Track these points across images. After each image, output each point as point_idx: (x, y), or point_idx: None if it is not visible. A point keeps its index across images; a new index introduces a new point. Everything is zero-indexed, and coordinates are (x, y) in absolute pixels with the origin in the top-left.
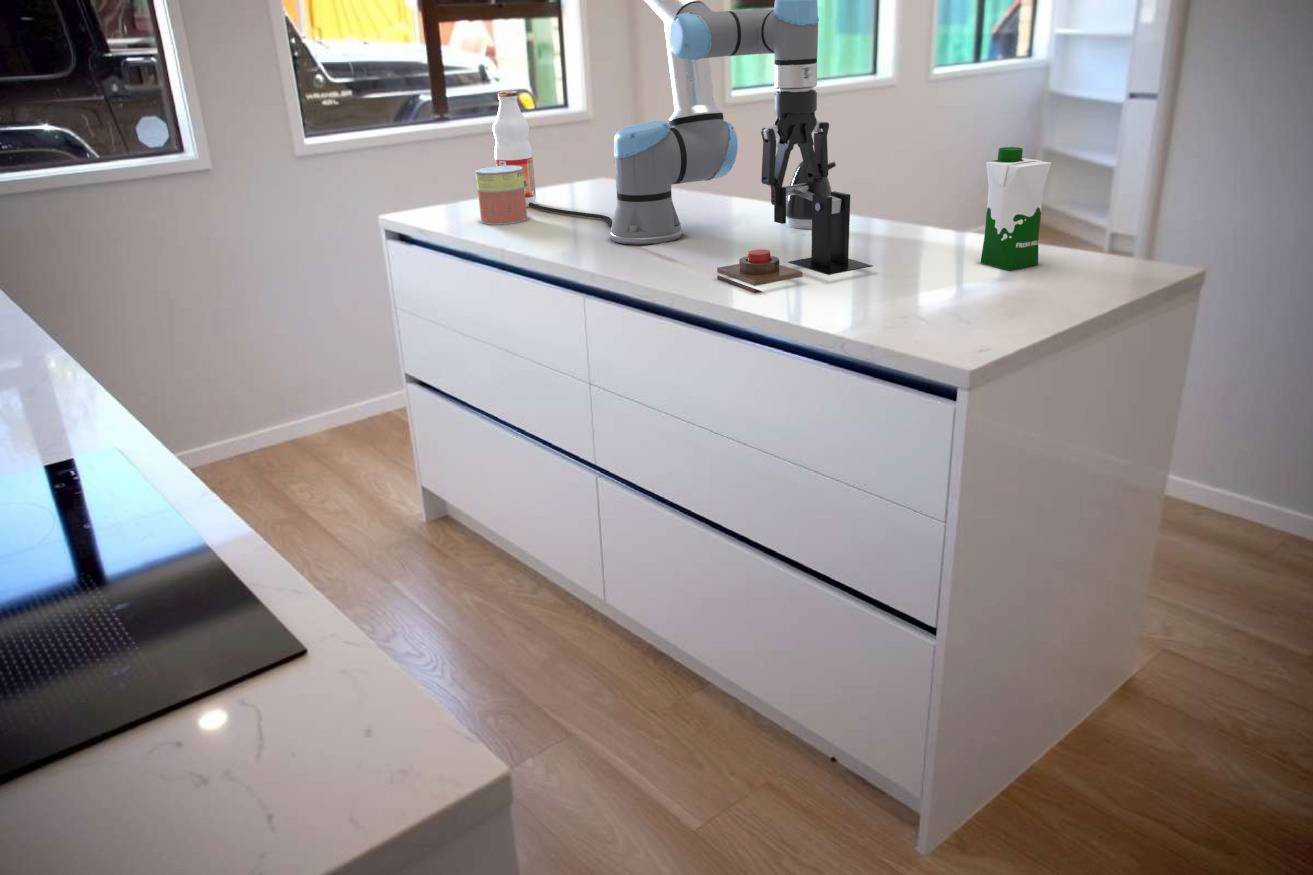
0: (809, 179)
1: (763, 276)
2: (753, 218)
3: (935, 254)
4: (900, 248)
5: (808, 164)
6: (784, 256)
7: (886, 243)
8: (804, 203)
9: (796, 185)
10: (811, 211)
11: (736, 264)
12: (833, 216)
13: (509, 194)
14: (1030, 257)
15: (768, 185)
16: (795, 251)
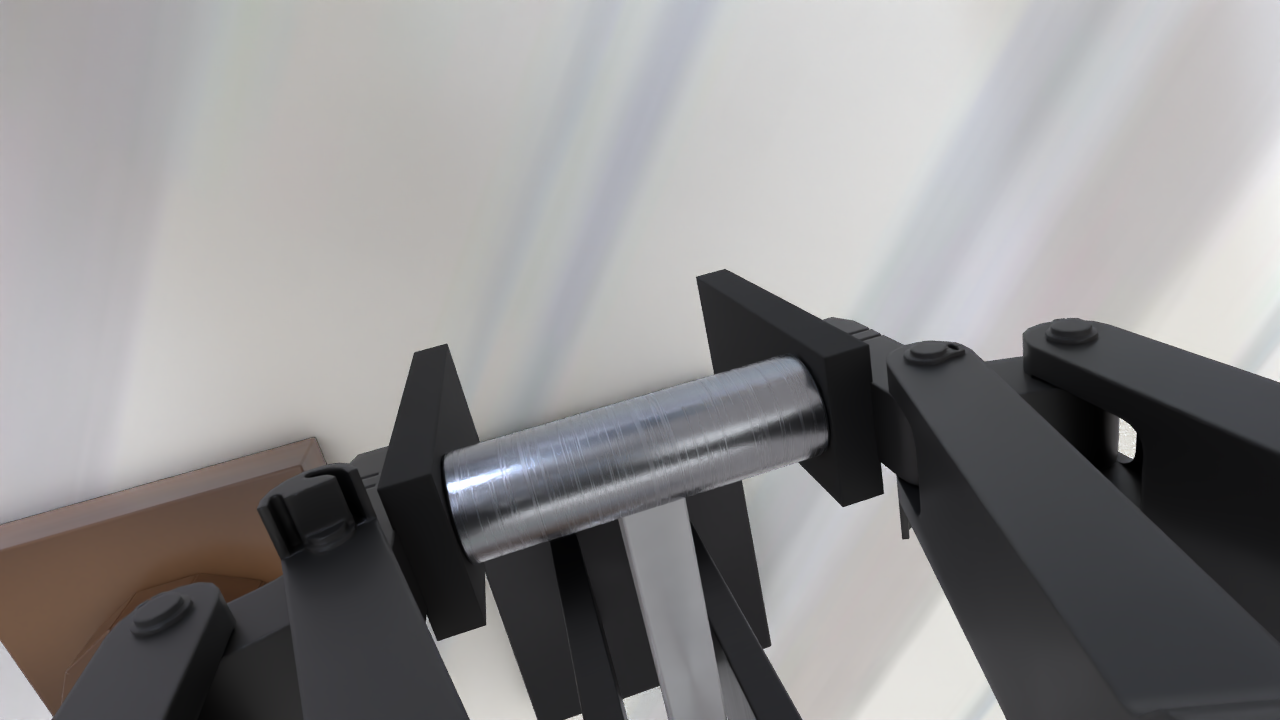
0: (889, 397)
1: None
2: None
3: (1121, 422)
4: (1096, 264)
5: (968, 575)
6: (542, 158)
7: (1119, 133)
8: (735, 311)
9: (667, 491)
10: None
11: (97, 531)
12: (737, 693)
13: None
14: None
15: (290, 486)
16: (651, 64)
